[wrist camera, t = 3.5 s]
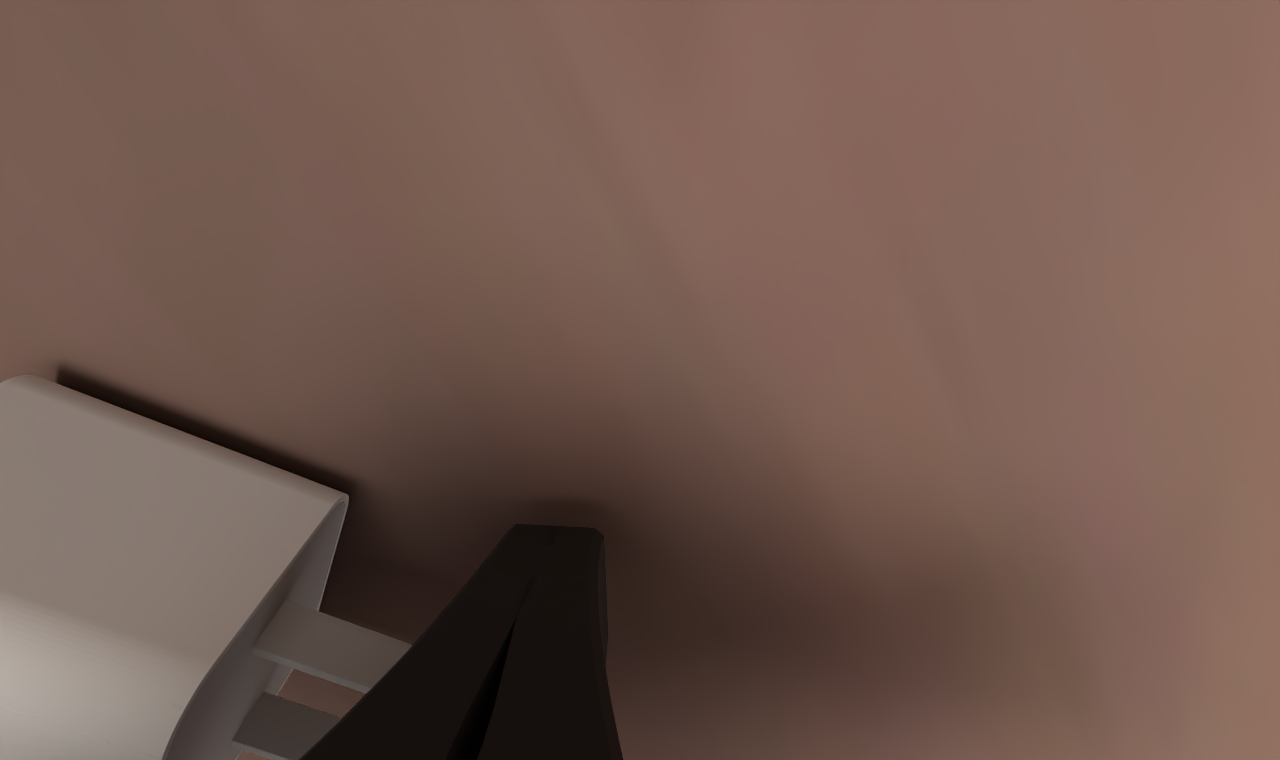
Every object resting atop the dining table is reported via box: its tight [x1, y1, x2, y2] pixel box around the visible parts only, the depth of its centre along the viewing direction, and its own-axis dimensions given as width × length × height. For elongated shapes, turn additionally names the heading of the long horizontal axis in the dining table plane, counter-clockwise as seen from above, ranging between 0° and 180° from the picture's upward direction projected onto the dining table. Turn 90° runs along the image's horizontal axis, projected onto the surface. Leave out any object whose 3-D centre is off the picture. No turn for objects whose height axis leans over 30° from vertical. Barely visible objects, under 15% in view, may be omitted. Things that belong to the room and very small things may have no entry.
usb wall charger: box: [0, 375, 412, 760], centre depth 9 cm, size 4×7×4 cm, turn 67°
